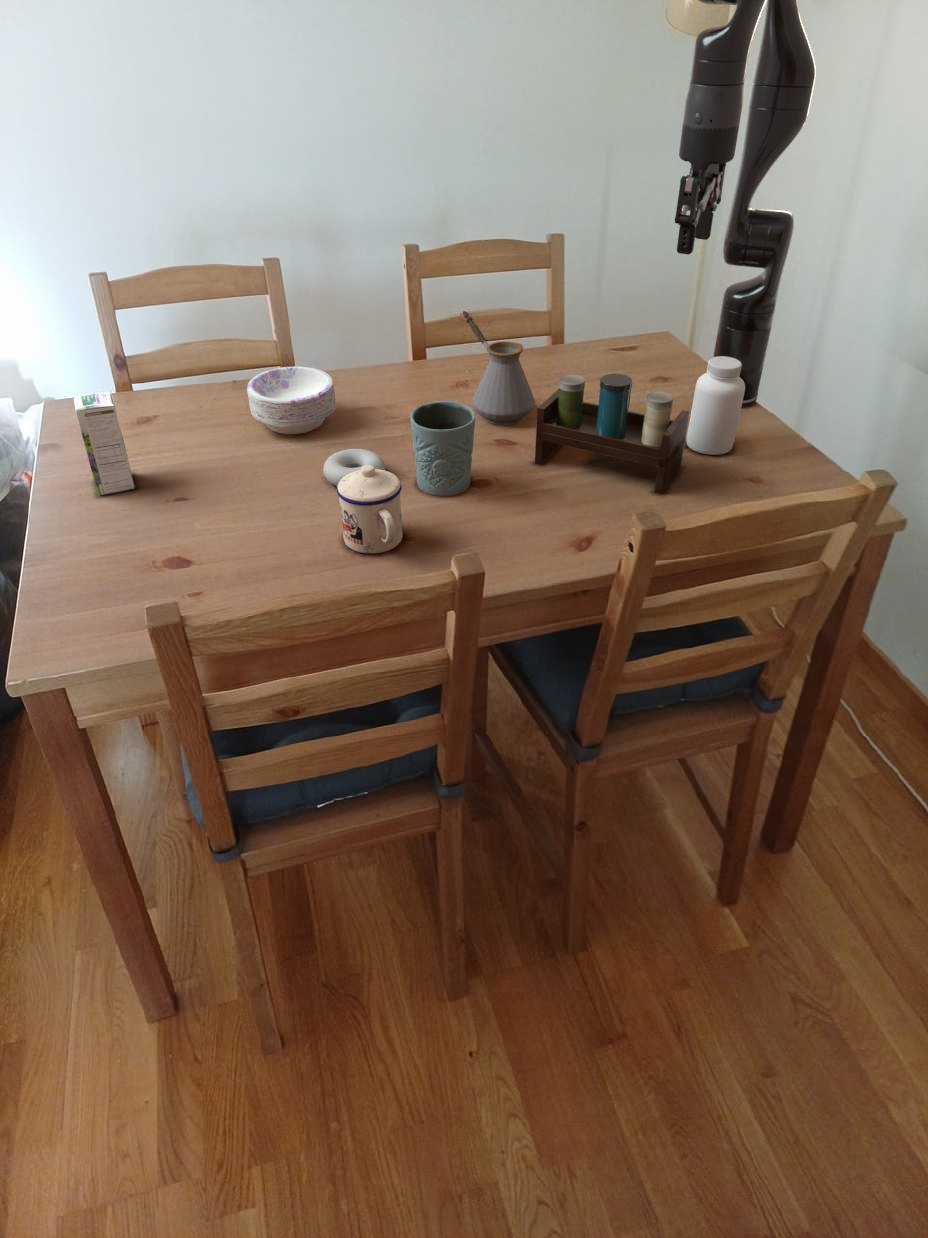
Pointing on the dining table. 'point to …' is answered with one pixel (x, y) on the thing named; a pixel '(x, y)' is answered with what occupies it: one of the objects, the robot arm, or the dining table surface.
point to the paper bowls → (291, 398)
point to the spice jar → (613, 405)
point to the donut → (349, 463)
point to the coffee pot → (502, 383)
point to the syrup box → (104, 442)
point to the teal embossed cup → (443, 446)
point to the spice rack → (643, 442)
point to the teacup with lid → (370, 510)
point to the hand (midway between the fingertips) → (693, 245)
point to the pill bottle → (716, 407)
